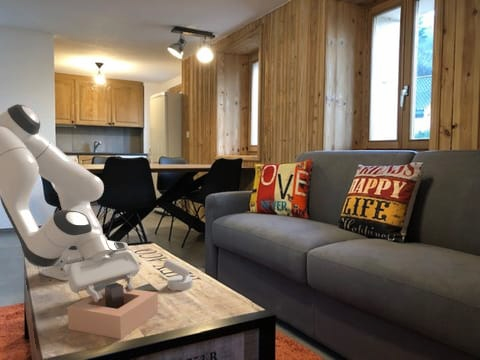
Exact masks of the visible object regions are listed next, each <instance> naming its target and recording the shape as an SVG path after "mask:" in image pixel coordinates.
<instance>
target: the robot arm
mask: <svg viewBox="0 0 480 360" xmlns="http://www.w3.org/2000/svg"><path fill="white" fill-rule="evenodd" d="M40 128H41V121H40V119H39V117H38V115H37V114H36V112H34V111H33V110H32V109H31V108H29V107H26V105H23V104H18V103H17V104H14V105H12V106H10V107H8V108H7V109H6V110H5V111H4V112H1V114H0V202H1V206H2V208H3V209H4V211H5V214H6V216H7V218H8V220H9V222H10V224H11V226H12V228H13V230H14V232H15V234H16V235H17V238H18V240H19V242H20V245H21V246H20V247H21V249H22V253H23V256H24V258H25V259H26V261H28V263H30V264H31V265H33V266H36V267H38V268H39V267H40V268H46V269H44V270H42V271H41V275H43V276H46V277H49V278H52V279H53V278H54V279H57V280H61V281H67V283H68V286H69V289H70V291H71V292H73V293H76V294H77V293H80V292H83V291H86V294H87V295H89V296H92V297H94V300H95V302H98V301H101V300H102V299H103V297H102V295H101V292H100V293H97V292H96V291H95V290H94V289H93V288H94V287H98V286H101V285H105V284H108V283H112V282H115V281H116V282H119V281H121V280H124V282H127V283H126V285H125V286H124V288H125V290H126V292H130V291H132V290H133V289H134V286H133V284H132V283H133V277H136V276H137V275H138V273H139V272H140V269H141V266H140V263H139V261H138V259H137V258H136V256H135V255H134V253H133V252H132V251H131V250H129V249H128V248H129V245H128V243H126V242H125V241H123V242H122V241H116V240H115V241H114V240H108V238H107V237H106V236H105V235H104V233H103V232H104V231H103V227H102V225H101V223H100V222H99V220H98V218H97V216H96V214H95V213H94V211H93V209H92V205H91V203H92V202H96V201H97V200H99V199H100V198H101V197H102V196H103V193H104V190H105V188H104V187H105V185H104V182H103V180H101V178H100V177H98V176H97V175H95V174H93V173H92V172H90V171H89V170H88V169H87V168H85V167H84V166H82V165H81V164H80V163H78V162H76V161H75V160H73V159H72V158H70V157H69V156H68V155H67V154H65V153H64V151H62V150H61V149H60V148H59V147H57V145H55V144H54V143H53V142H52V141H51V140H50V139H48V138H47V137H46V136H45V135H44V134H42V133H41V132H40ZM39 176H40V177H42V178H43V179H45V180H46V181H48V182H49V183H52V184H53V185H54V190H55V192H56V193H57V196H58V200H59V203H60V207H61V209H60V210H58V211H55V212H54V213H53V214H52V215H51V216H50V217H49V218H48V219H47V220H46V221H45V222H44V223H43V224H42V225H41V226H40V227H39V226H38V224H37V222H36V220H35V218H34V216H33V214H32V212H31V210H30V205H29V204H30V198H31V194H32V192H33V189H34V187H35V185H36V182H37V180H38V177H39Z"/></svg>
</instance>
